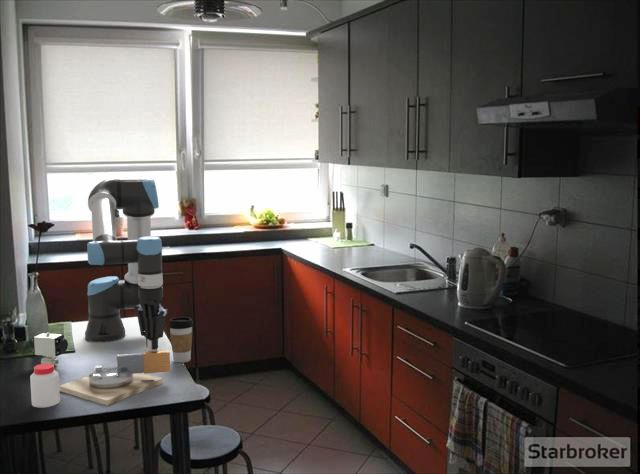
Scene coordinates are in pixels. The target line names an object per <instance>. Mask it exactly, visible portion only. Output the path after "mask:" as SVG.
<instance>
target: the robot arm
mask: <svg viewBox="0 0 640 474" xmlns="http://www.w3.org/2000/svg"><path fill="white" fill-rule="evenodd" d="M156 186H157V185H156V182H155V179H153V178H152V177H143V176H140V177H135V176H134V177H110V178H106V179H104V180H102V181H100V182H99V183H97V184H96V185H95V186H94V187H93V188H92V190H91V191H90V192H89V195H88V199H87V206H88V210H89V211H90V212H91V223H92V224H91V227H92V228H91V229H92V241H89V242H87V245H86V246H87V248H86V249H87V252H86V253H87V263H88V264H89V265H92V266H106V265H119V264H122V265H123V264H125V265H126V264H127V267H128V270H127V273H125V274H124V276H123V277H124V279H120V278H119V277H118V276H116V275H115V276H114V275H113V276H112V275H111V276H105V277H99V278H96V279H94V280H91V281H90V282H89V283H88V284H87V292H86V293H87V300H88V321H87V325H86V329H85V331H84V339H85V340H86V341H88V342H94V343H95V342H96V343H97V342H99V343H100V342H101V343H102V342H114V341H117V340H121V339H122V338H124V337H125V336H126V329H125V326H124V323H123V321H122V318H121V311H120V310H130V309H131V310H132V309H133V310H135V313H136V316H137V321H138V326H139V331H140V335H141V336H142V337H144V338H145V341H146V342H145V344H146V349H147V352H152V351H158V349H159V339H161V338H163V337H164V332H165V331H164V330H165V326H166V321H167V320H166V318H167V316H168V314H169V309H167V308H166V309H165V308H164V307H163V302H162V298H164V288H163V287H164V286H163V285H164V279H163V276H164V275H163V245H162V239H161V238H160V237H159V236H155V235H153V236H152V234H151V233H152V232H151V231H152V228H151V226H152V225H151V217H152V216H153V215H154V214H155V211H156V210H157V209H159V199H158V198H159V197H158V191H157V187H156ZM155 209H156V210H155ZM116 210H122V214H123V215H124V216H125V217H126V222H127V223H126V225H127V227H126V229H127V239H125V240H123V239H120V240H118V237H117V226H116V216H115V215H116V214H115V211H116Z"/></svg>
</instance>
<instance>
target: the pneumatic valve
mask: <svg viewBox="0 0 640 474" xmlns="http://www.w3.org/2000/svg"><path fill="white" fill-rule="evenodd" d="M68 346H69V342H68V340H67V339H66V338H65V334H60V333H59V334H58V333H50V332H46V333H43V332H41V333H38V334H36V335H33V336H32V338H31V339H30V340H29V349H30V350H32V352H33V356H42V358H41V359H40V360H41V361H40V364H47V363H49V364H53V365H54V367H58V364H59V359H58V357H59V356H60V355H63V354H64V353H66V352H67V349H68Z"/></svg>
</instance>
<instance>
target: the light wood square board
mask: <svg viewBox="0 0 640 474" xmlns="http://www.w3.org/2000/svg"><path fill="white" fill-rule="evenodd" d="M113 367H117V366H116V365H115V366H113ZM163 383H164V379H163V377H159V376H155V375H151V374H149V373H147V374H144V373H135V374H133V381H132V382H131V383H129V384H127V385H125V386H122V387H117V388H110V389H100V388H94V387H92V386H90V384H89V375H86V376H84V377H83V376H82V377H81V378H78V379H75V380H72V381H69V382H65V383H64V384H59V388H60V392H62V393H65V394H69V395H72V396H75V397H78V398H81V399H84V400H88V401H91V402H94V403H97V404H101V405H104V406H109V405H112V404H114V403H117V402H119V401H122V400H124V399H127V398H128V397H132V396H135V395H137V394H139V393H141V392H144V391H146V390H149V389H151V388H154V387H156V386H159V385H161V384H163Z"/></svg>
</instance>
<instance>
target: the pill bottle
mask: <svg viewBox="0 0 640 474" xmlns="http://www.w3.org/2000/svg"><path fill="white" fill-rule="evenodd" d="M29 380H30V398H31V406H32V407H34V408H39V409H40V408H50V407H54V406H56V405H58V404H59V403H60V402H61V393H60V392H61V391H60V388H59V386H60V375H59V371H57V370H55V366H54V365H53V364H49V363H47V364H41V363H40V364H37V365H35V366H33V373H32V374H30V377H29Z"/></svg>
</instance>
